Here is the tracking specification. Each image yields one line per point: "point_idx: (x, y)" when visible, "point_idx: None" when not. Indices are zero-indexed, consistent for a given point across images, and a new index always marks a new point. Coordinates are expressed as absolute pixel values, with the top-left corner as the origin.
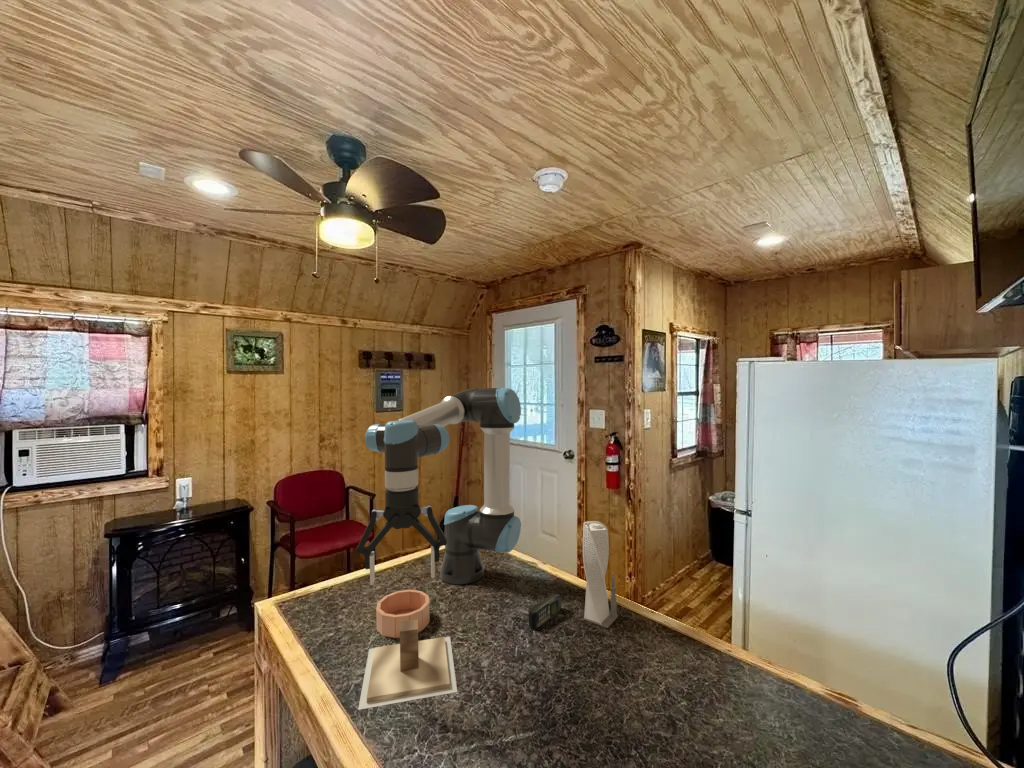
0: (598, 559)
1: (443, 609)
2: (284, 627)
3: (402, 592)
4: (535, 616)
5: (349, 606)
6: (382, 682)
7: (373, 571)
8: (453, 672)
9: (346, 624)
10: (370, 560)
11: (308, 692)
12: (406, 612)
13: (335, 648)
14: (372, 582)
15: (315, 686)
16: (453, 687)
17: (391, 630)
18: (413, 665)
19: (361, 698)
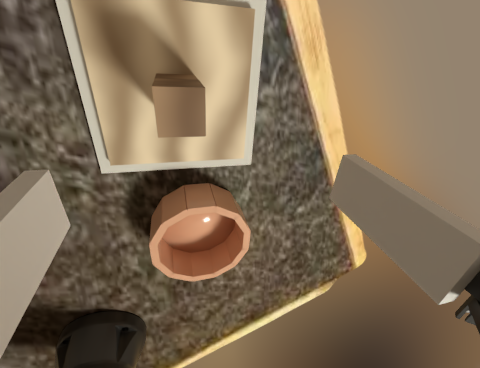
0: None
1: (129, 252)
2: (350, 227)
3: (206, 274)
4: None
5: (277, 262)
6: (227, 49)
7: (383, 188)
8: (71, 48)
9: (281, 227)
10: (464, 222)
11: (333, 84)
12: (195, 243)
13: (296, 178)
14: (353, 159)
15: (324, 95)
16: None
17: (218, 193)
18: (167, 74)
19: (261, 27)
